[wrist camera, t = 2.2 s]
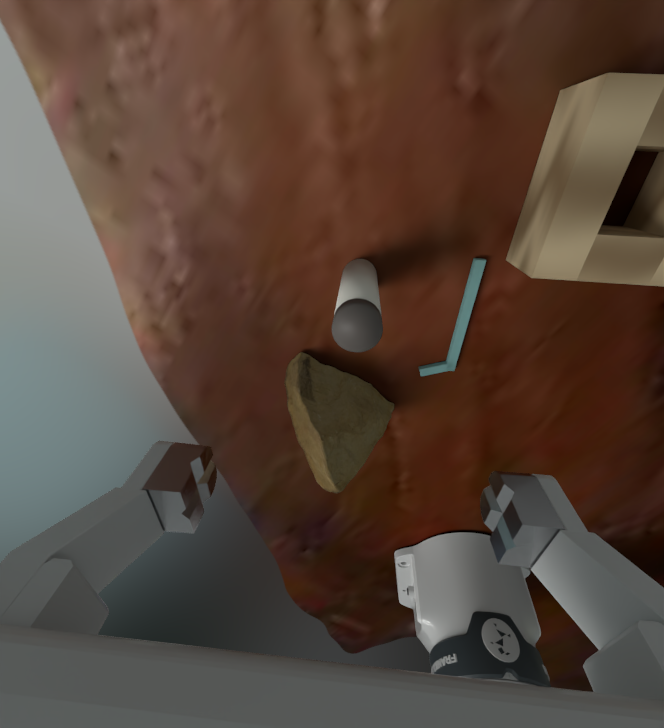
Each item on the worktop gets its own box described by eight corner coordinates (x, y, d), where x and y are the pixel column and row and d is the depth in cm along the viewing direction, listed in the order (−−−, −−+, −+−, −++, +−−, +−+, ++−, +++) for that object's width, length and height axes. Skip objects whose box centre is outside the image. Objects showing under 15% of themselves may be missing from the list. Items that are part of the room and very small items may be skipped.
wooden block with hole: (642, 268, 24) (694, 288, 20) (505, 260, 25) (531, 277, 21) (737, 96, 19) (831, 80, 15) (560, 90, 19) (608, 72, 16)
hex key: (450, 376, 31) (451, 379, 30) (417, 373, 31) (417, 376, 30) (484, 258, 25) (486, 260, 24) (442, 256, 25) (444, 257, 24)
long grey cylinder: (374, 294, 27) (379, 354, 19) (341, 291, 27) (330, 350, 19) (378, 259, 25) (385, 308, 17) (343, 257, 26) (332, 304, 17)
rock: (250, 376, 30) (295, 458, 33) (277, 398, 22) (332, 503, 26) (344, 323, 33) (376, 403, 37) (395, 328, 26) (430, 427, 29)
